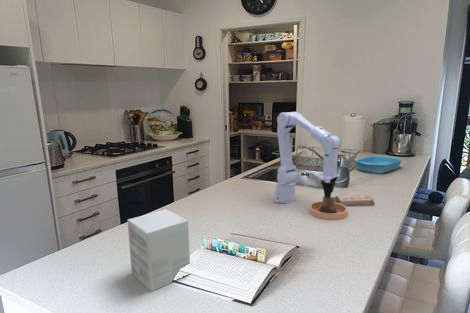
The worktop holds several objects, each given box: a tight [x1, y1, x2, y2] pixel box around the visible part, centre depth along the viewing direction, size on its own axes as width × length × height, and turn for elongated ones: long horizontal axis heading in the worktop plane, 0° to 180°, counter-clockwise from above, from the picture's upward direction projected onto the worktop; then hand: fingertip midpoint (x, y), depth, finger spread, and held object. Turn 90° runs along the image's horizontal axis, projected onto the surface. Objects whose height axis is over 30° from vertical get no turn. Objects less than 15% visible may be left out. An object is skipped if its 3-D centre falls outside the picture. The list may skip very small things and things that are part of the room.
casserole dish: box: [355, 155, 403, 175], centre depth 222 cm, size 37×22×7 cm, turn 131°
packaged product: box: [334, 194, 375, 207], centre depth 153 cm, size 18×5×10 cm
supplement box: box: [127, 208, 191, 292], centre depth 96 cm, size 13×13×18 cm
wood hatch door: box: [322, 195, 335, 211], centre depth 141 cm, size 5×2×7 cm, turn 66°
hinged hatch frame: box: [319, 206, 337, 213], centre depth 141 cm, size 7×5×2 cm, turn 66°
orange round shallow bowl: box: [308, 200, 349, 221], centre depth 141 cm, size 16×16×4 cm
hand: (328, 194), depth 140 cm, fingers open, 7 cm apart
